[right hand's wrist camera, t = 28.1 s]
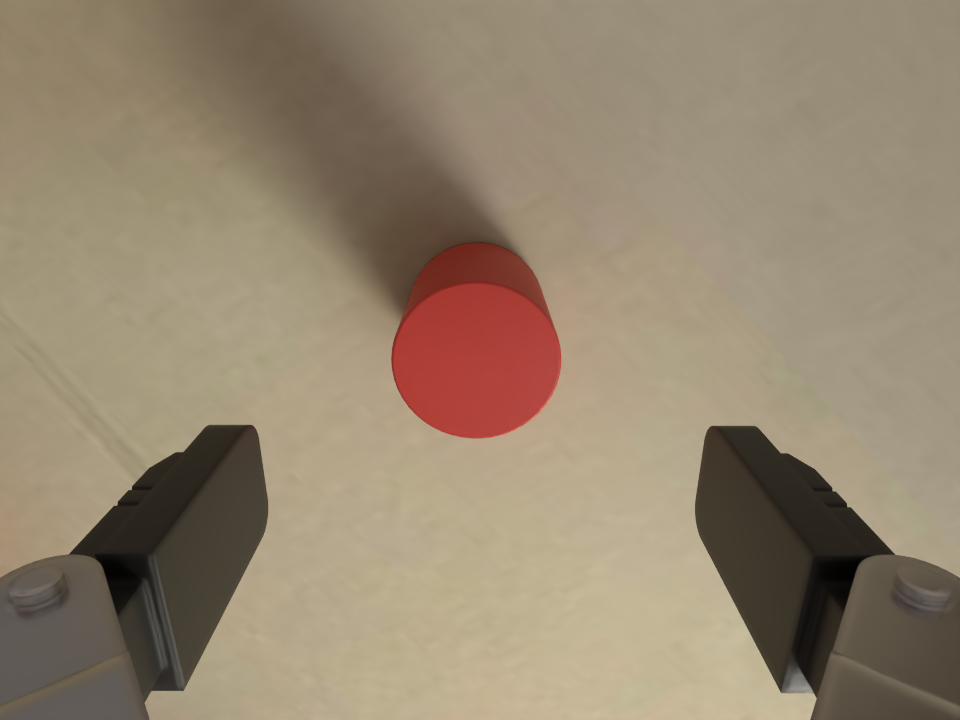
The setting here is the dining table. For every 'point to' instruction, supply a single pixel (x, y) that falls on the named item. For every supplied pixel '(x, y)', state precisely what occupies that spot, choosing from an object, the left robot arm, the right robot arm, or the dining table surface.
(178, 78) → the dining table surface
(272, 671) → the dining table surface
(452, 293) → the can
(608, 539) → the dining table surface
